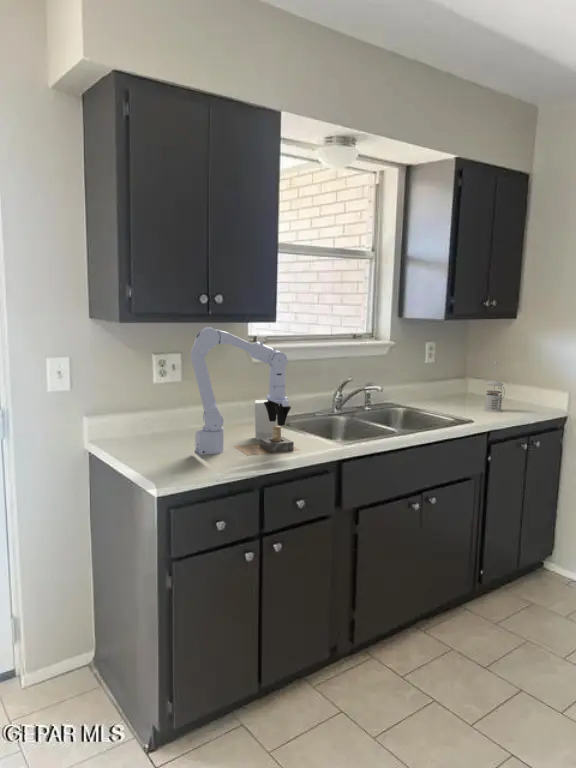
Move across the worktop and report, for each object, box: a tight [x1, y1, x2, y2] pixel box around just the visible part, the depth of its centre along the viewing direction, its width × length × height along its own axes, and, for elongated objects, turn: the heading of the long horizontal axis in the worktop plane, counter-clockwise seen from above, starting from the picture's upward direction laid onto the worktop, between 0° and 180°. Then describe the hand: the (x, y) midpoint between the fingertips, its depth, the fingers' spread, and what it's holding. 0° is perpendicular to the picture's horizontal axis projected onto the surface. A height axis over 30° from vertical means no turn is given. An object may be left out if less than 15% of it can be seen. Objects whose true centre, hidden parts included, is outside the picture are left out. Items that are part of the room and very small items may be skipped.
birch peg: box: [272, 425, 282, 442], centre depth 210 cm, size 3×3×8 cm
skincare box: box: [254, 399, 278, 441], centre depth 226 cm, size 8×7×16 cm
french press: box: [482, 361, 506, 413], centre depth 298 cm, size 10×12×25 cm
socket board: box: [233, 436, 300, 456], centre depth 211 cm, size 20×14×4 cm
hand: (276, 423), depth 209 cm, fingers open, 7 cm apart
